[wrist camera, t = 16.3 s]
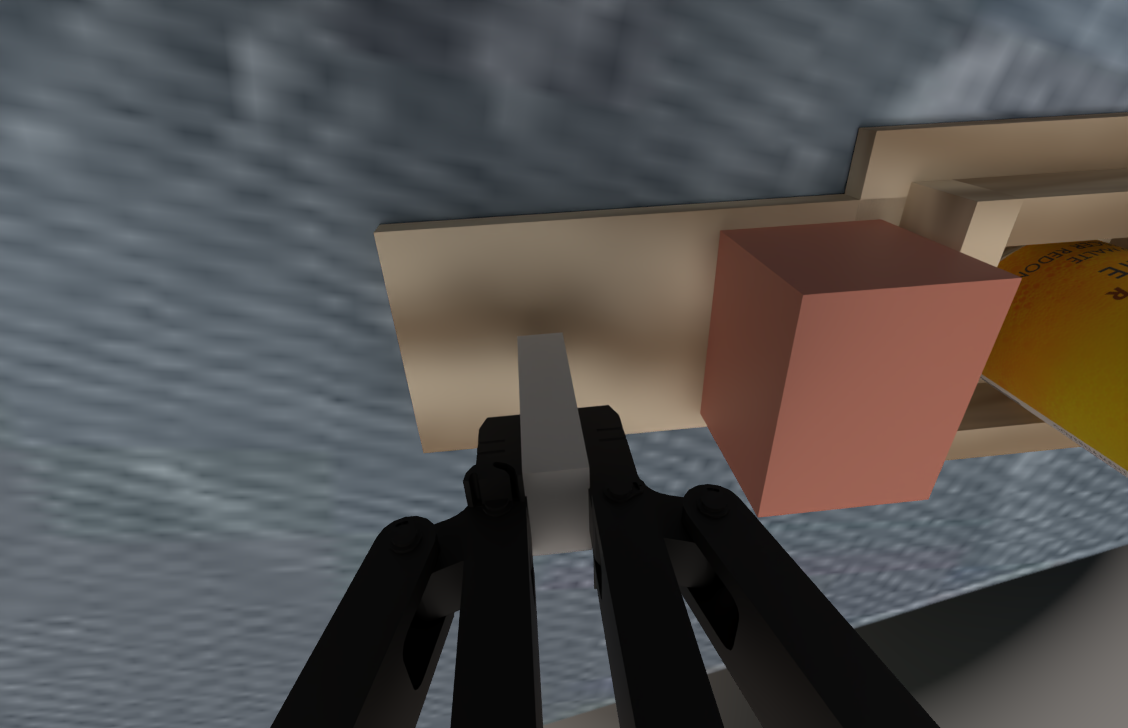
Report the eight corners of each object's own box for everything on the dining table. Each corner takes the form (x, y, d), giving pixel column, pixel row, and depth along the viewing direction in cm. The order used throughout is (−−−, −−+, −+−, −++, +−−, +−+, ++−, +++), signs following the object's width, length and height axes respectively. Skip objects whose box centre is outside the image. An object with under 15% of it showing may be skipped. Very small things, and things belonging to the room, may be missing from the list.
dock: (365, 156, 17) (329, 180, 14) (1224, 106, 19) (1383, 116, 16) (435, 476, 24) (423, 545, 21) (1058, 416, 26) (1142, 470, 23)
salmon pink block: (720, 230, 19) (803, 294, 13) (881, 219, 19) (1022, 277, 14) (700, 413, 23) (757, 517, 17) (833, 401, 23) (928, 499, 18)
